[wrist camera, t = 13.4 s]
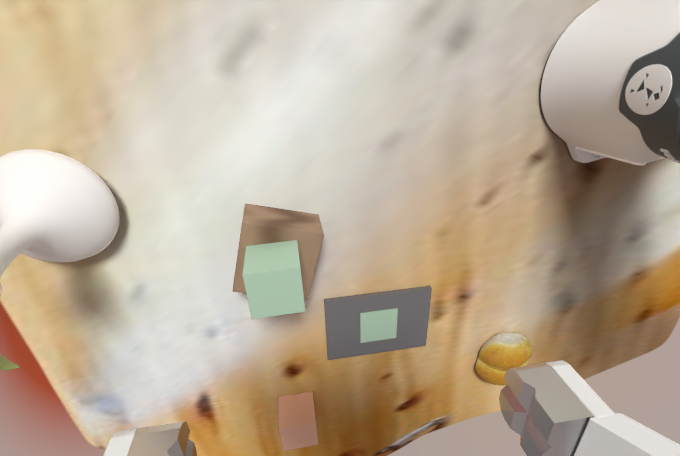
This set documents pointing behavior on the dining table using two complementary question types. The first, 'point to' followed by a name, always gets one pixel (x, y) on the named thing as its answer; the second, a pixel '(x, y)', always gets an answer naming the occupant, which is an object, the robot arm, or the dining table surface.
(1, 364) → the flower in vase
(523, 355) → the bread roll
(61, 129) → the dining table surface
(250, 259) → the green block
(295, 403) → the terracotta block
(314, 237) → the walnut base block
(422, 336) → the card
